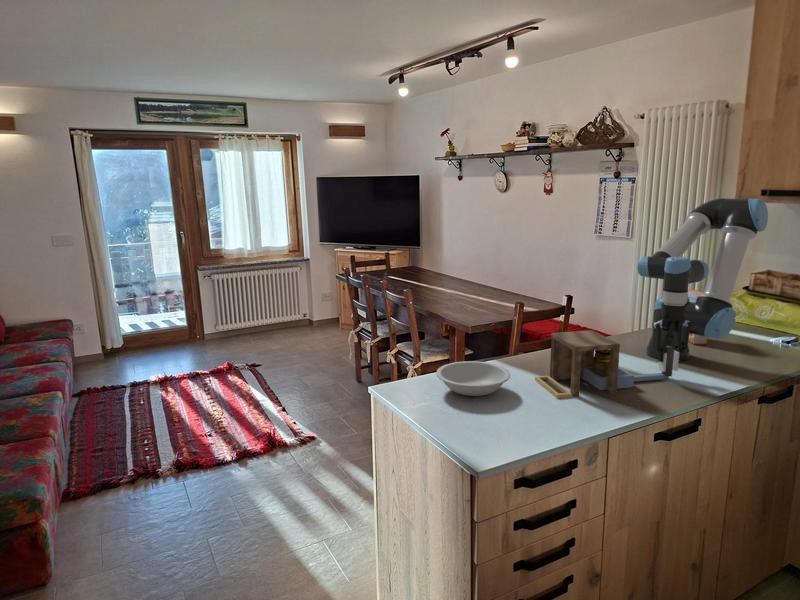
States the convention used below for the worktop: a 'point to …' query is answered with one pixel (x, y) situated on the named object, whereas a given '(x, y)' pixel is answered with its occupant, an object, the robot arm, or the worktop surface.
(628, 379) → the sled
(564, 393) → the beige rectangular tray
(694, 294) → the cracker box
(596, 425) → the worktop surface
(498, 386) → the soup bowl
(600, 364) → the condiment
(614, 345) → the tunnel
